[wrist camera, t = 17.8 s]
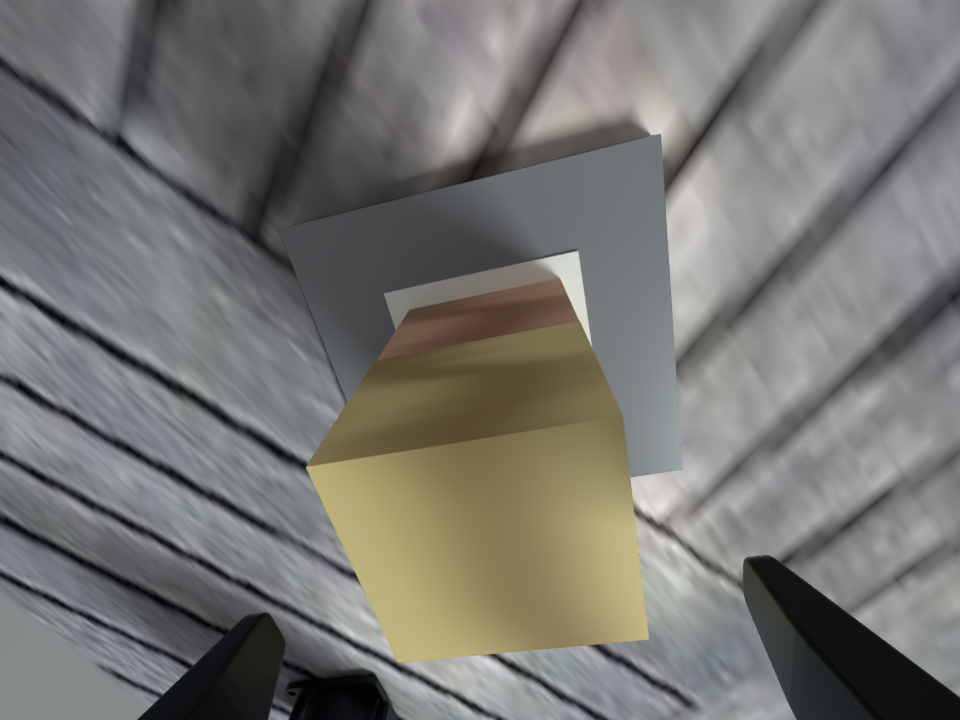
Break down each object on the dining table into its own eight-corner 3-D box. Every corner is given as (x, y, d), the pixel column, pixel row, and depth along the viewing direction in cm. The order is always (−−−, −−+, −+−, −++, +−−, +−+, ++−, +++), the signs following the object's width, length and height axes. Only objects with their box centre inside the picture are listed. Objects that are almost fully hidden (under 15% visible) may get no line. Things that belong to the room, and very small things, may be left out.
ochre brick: (429, 514, 15) (397, 662, 11) (375, 360, 13) (305, 467, 9) (604, 490, 15) (648, 639, 10) (580, 320, 12) (622, 415, 8)
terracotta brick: (447, 434, 20) (430, 515, 16) (409, 309, 18) (375, 362, 13) (581, 412, 19) (604, 491, 15) (560, 278, 17) (579, 322, 12)
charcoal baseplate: (395, 498, 23) (390, 513, 22) (289, 226, 18) (276, 230, 17) (674, 456, 21) (683, 471, 20) (651, 135, 16) (661, 133, 15)
